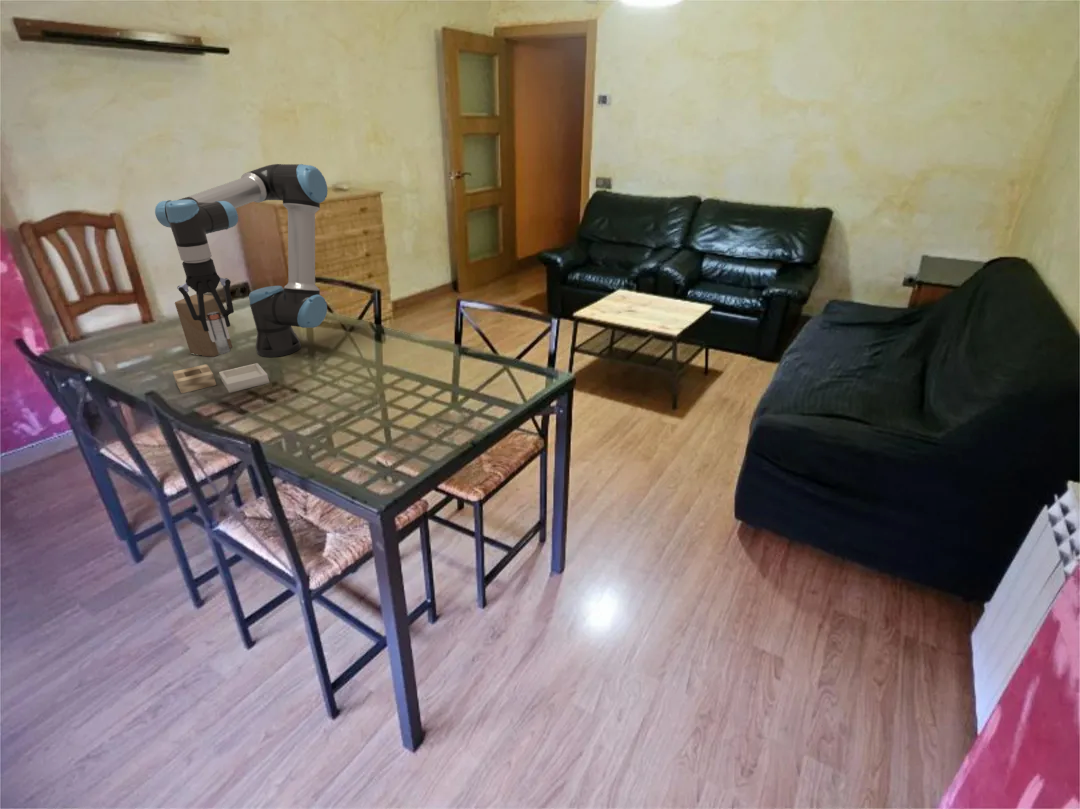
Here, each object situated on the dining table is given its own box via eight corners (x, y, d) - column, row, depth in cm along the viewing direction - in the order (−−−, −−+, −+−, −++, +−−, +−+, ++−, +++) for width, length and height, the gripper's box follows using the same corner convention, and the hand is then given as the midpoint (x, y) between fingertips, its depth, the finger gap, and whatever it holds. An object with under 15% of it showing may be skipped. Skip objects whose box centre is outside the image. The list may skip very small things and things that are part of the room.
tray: (259, 371, 192) (257, 362, 191) (269, 382, 184) (267, 374, 182) (221, 380, 186) (218, 372, 184) (229, 393, 177) (227, 384, 176)
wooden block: (214, 357, 203) (198, 303, 194) (190, 355, 205) (173, 302, 196) (233, 347, 212) (218, 295, 202) (209, 345, 213) (194, 293, 204)
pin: (228, 348, 170) (217, 310, 165) (231, 352, 168) (220, 313, 162) (217, 351, 169) (205, 313, 163) (219, 354, 166) (207, 316, 161)
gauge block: (210, 374, 189) (206, 364, 188) (216, 385, 182) (213, 373, 181) (176, 382, 184) (172, 371, 182) (181, 393, 177) (177, 382, 175)
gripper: (226, 252, 162) (246, 329, 174) (161, 261, 154) (187, 341, 165) (232, 257, 157) (253, 336, 168) (165, 267, 148) (191, 349, 159)
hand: (220, 338), depth 166 cm, fingers closed on pin, 3 cm apart
